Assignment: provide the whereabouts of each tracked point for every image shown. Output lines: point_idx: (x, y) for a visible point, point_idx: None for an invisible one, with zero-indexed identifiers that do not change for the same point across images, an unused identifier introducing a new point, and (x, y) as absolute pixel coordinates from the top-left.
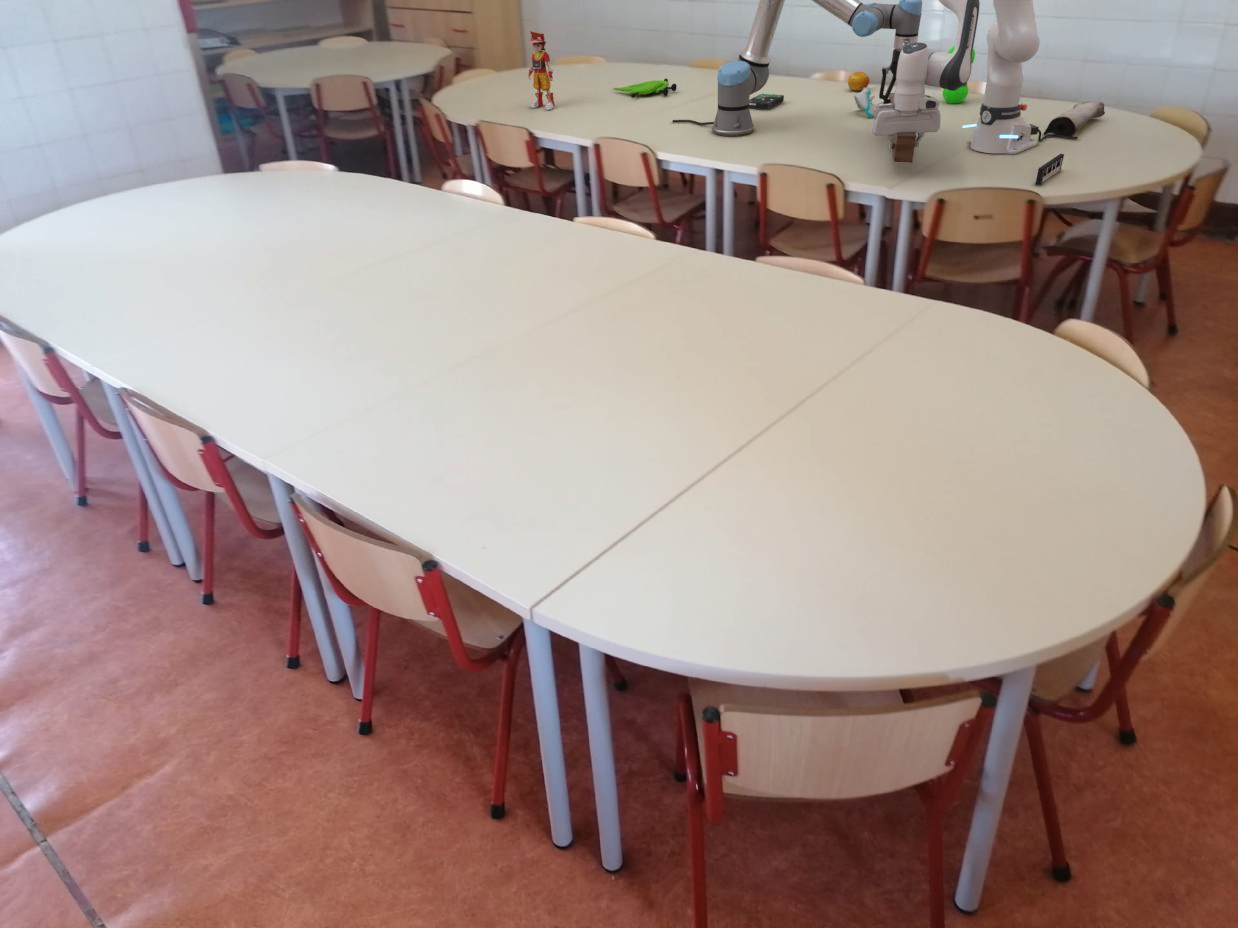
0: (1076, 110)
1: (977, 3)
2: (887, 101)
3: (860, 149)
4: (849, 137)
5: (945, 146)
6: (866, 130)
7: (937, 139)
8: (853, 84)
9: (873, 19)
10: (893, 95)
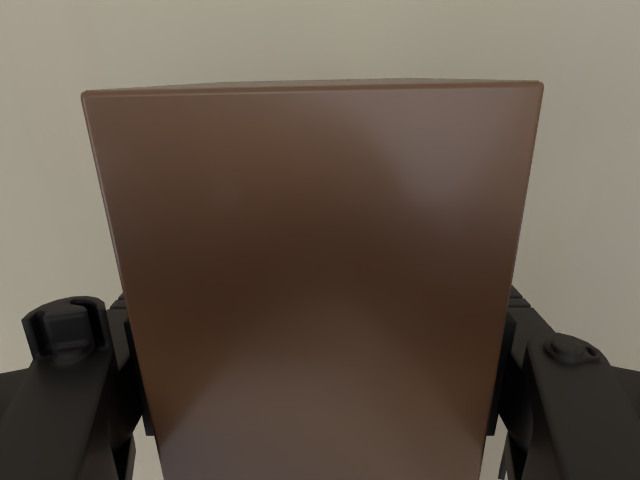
0: None
1: None
2: (148, 433)
3: (136, 474)
4: (9, 249)
5: None
6: (92, 34)
7: (621, 289)
8: None
9: None
10: (213, 346)
